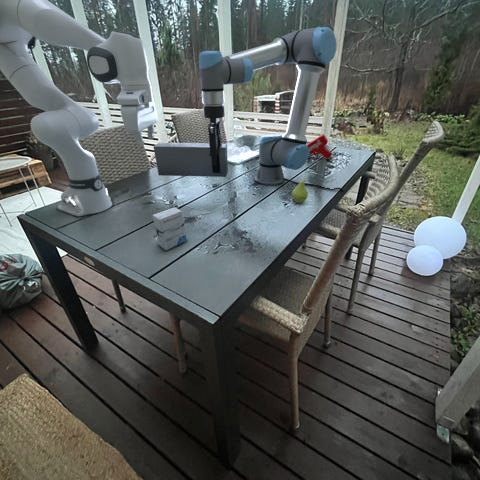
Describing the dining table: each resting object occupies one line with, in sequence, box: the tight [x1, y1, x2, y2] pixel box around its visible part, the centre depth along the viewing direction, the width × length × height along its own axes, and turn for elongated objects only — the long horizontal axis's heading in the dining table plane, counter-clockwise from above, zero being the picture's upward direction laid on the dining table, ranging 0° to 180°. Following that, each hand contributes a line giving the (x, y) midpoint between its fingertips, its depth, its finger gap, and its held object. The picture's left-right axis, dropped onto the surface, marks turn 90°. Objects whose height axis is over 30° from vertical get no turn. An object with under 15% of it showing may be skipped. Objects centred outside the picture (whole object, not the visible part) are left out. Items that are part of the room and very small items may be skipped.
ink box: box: [152, 206, 187, 251], centre depth 91 cm, size 8×5×12 cm, turn 135°
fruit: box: [291, 174, 311, 204], centre depth 118 cm, size 7×8×12 cm
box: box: [153, 142, 229, 178], centre depth 106 cm, size 27×6×11 cm, turn 85°
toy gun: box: [306, 133, 333, 161], centre depth 176 cm, size 18×4×15 cm
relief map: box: [225, 141, 259, 166], centre depth 184 cm, size 27×35×5 cm
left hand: (146, 141), depth 92 cm, fingers open, 8 cm apart
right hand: (217, 169), depth 107 cm, fingers closed on box, 6 cm apart
